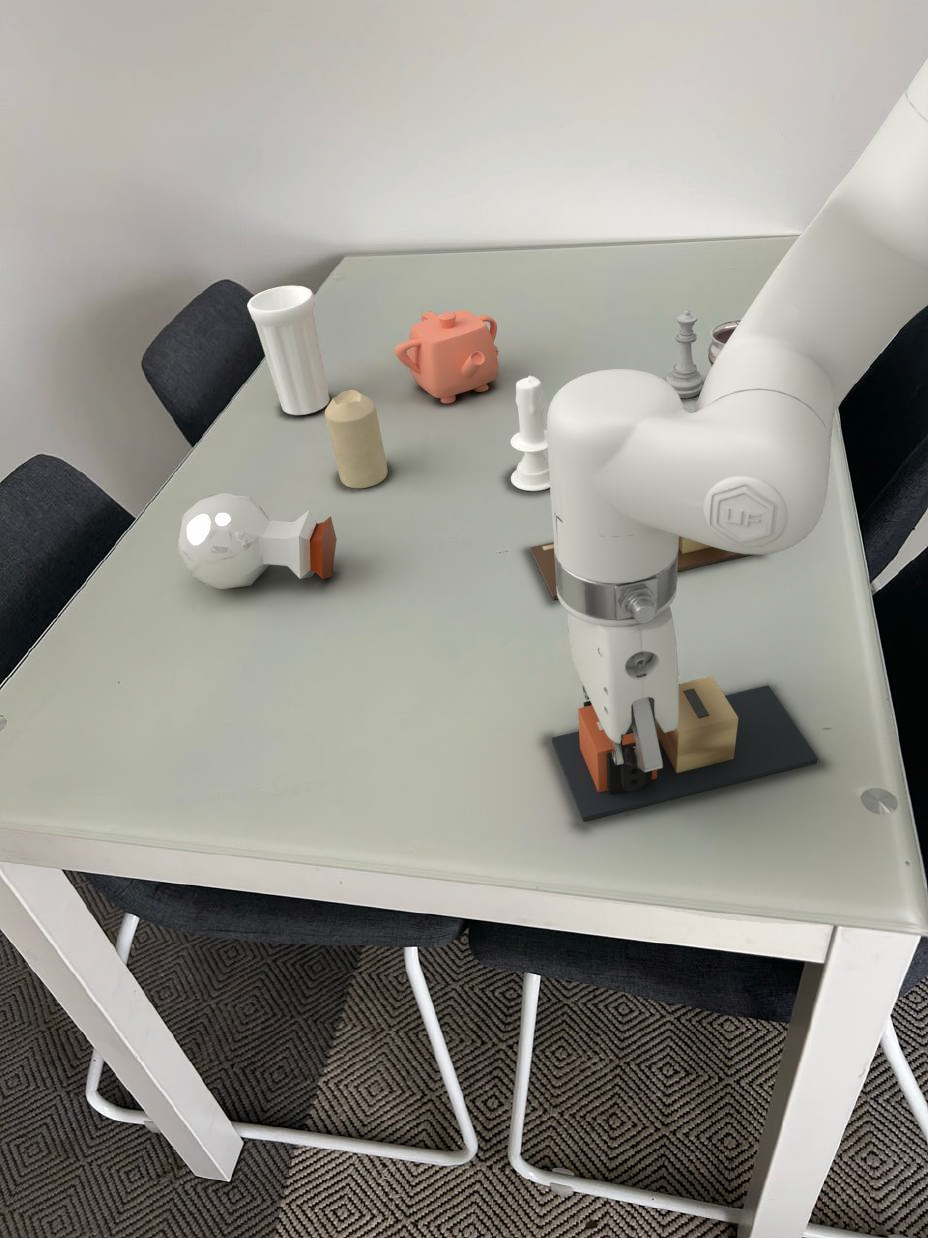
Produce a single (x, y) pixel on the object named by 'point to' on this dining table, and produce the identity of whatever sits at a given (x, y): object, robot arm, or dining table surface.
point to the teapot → (451, 353)
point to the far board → (685, 561)
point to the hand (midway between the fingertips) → (617, 759)
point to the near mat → (758, 752)
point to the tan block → (700, 727)
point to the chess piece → (686, 360)
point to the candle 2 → (531, 437)
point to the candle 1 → (356, 439)
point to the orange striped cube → (597, 746)
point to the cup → (291, 347)
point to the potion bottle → (250, 542)
